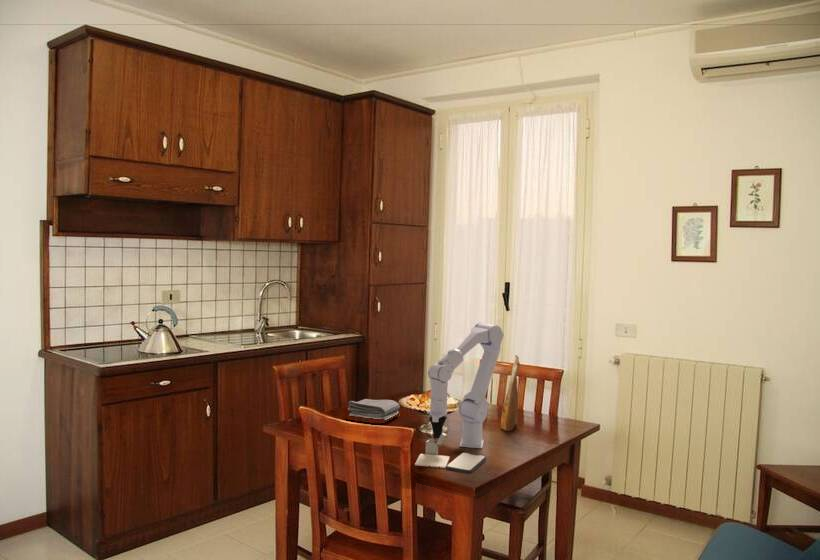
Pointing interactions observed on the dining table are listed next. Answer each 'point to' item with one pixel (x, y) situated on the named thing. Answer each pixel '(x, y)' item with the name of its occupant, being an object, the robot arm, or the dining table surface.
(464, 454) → the phone case
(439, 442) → the lighter
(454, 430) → the dining table surface
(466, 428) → the robot arm
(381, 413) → the towel
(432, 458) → the mat
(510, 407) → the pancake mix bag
